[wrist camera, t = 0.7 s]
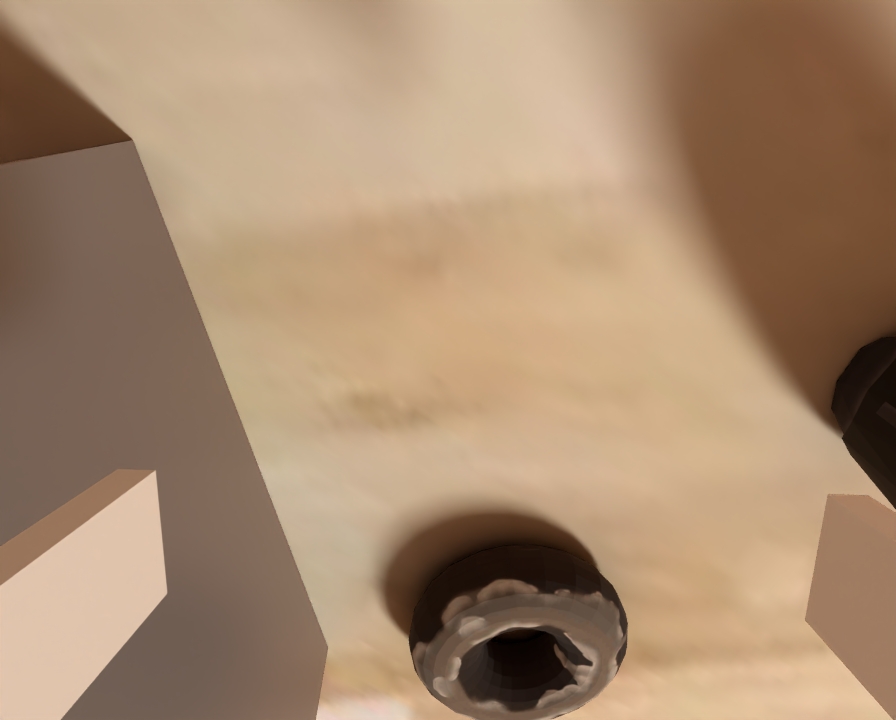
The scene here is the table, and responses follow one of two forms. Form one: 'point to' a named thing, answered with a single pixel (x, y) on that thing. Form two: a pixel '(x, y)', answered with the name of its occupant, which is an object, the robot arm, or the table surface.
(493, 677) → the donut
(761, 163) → the table surface
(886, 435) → the portable speaker
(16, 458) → the console
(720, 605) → the table surface
